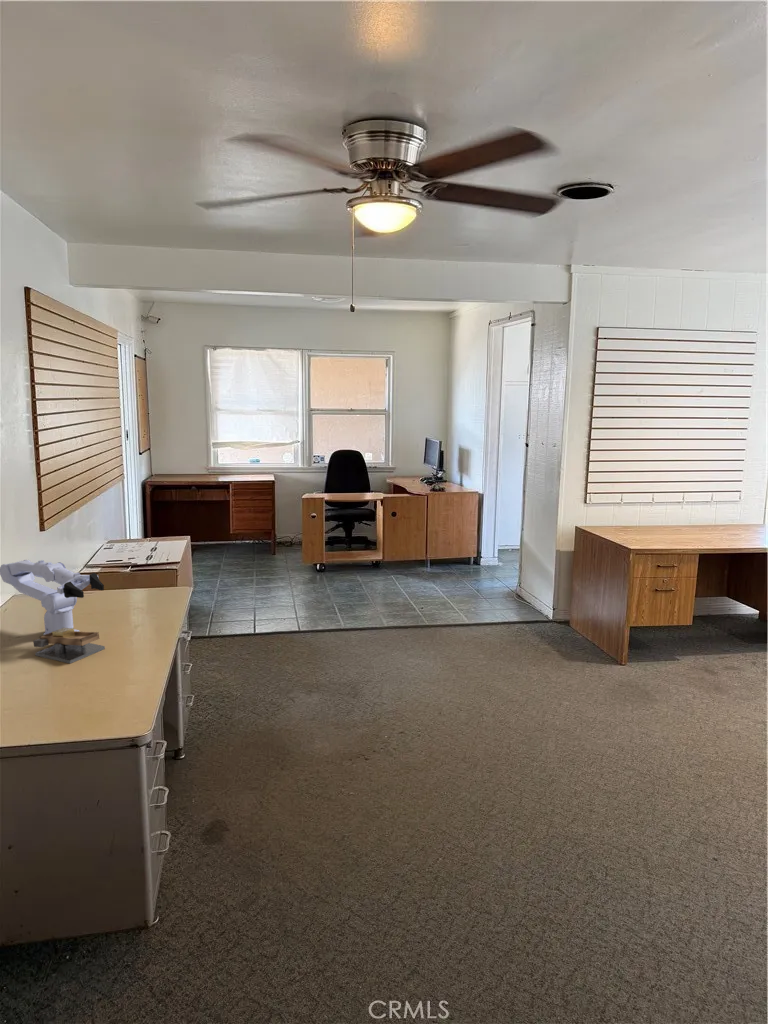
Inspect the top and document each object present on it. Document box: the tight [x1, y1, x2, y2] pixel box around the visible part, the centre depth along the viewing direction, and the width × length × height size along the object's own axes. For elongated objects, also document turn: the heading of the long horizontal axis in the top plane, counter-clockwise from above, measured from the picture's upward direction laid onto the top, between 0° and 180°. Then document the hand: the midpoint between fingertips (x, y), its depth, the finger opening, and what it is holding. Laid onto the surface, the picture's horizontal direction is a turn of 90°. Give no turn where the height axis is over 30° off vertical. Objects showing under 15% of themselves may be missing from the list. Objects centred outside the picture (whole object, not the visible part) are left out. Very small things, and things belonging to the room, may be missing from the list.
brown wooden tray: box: [32, 630, 100, 648], centre depth 218 cm, size 20×12×3 cm, turn 66°
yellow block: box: [52, 627, 75, 638], centre depth 219 cm, size 5×4×2 cm
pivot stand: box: [35, 642, 106, 664], centre depth 218 cm, size 16×14×5 cm
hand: (93, 591), depth 223 cm, fingers open, 7 cm apart
